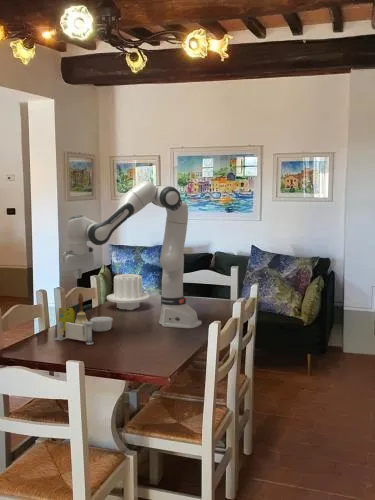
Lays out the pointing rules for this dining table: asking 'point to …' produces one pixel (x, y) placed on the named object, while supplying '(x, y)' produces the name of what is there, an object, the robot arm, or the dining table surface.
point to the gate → (77, 330)
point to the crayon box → (66, 316)
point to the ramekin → (101, 323)
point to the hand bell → (81, 312)
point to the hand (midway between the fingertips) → (78, 278)
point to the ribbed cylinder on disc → (128, 291)
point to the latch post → (60, 331)
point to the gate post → (89, 335)
